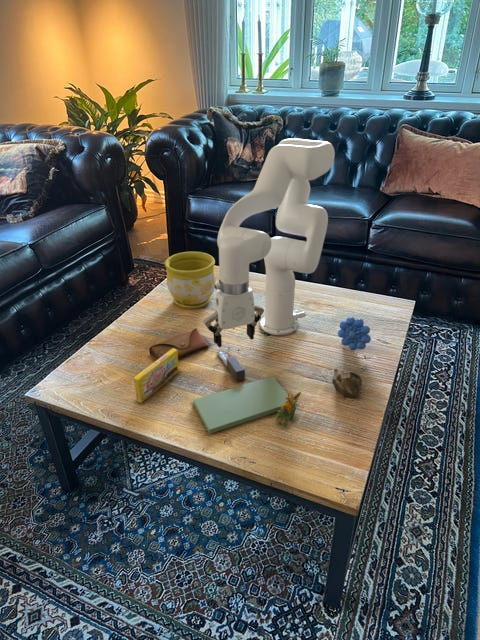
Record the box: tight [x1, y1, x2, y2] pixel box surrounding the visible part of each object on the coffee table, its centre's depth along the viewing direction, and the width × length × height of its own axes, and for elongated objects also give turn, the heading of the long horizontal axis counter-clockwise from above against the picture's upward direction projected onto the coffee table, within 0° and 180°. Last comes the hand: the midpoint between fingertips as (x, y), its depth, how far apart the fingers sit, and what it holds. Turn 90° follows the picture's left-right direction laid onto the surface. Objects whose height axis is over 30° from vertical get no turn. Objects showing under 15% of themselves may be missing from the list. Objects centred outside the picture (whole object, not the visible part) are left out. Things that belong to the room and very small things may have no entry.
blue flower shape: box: [337, 316, 372, 352], centre depth 136 cm, size 12×7×12 cm, turn 40°
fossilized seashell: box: [331, 368, 363, 398], centre depth 122 cm, size 8×7×10 cm
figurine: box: [275, 391, 302, 428], centre depth 111 cm, size 3×12×8 cm, turn 144°
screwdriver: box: [218, 350, 246, 383], centre depth 131 cm, size 15×3×4 cm, turn 24°
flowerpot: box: [164, 251, 217, 310], centre depth 162 cm, size 18×18×16 cm
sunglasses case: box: [148, 327, 211, 362], centre depth 139 cm, size 18×7×7 cm, turn 130°
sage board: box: [192, 375, 291, 435], centre depth 117 cm, size 24×12×2 cm, turn 114°
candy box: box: [133, 348, 180, 404], centre depth 122 cm, size 16×2×8 cm, turn 148°
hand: (234, 340), depth 122 cm, fingers open, 9 cm apart
